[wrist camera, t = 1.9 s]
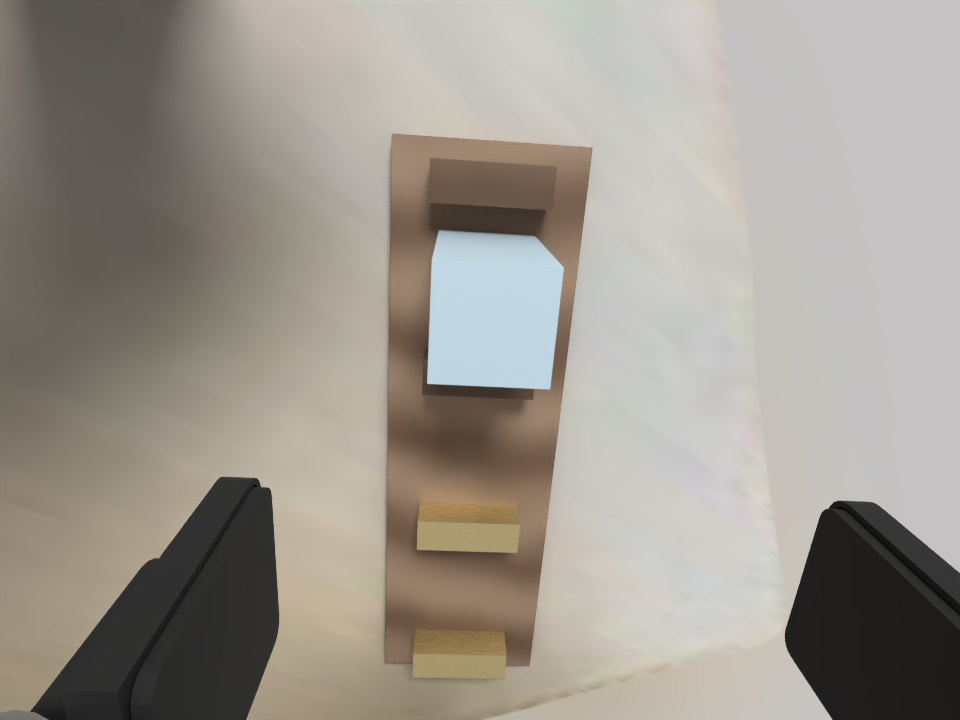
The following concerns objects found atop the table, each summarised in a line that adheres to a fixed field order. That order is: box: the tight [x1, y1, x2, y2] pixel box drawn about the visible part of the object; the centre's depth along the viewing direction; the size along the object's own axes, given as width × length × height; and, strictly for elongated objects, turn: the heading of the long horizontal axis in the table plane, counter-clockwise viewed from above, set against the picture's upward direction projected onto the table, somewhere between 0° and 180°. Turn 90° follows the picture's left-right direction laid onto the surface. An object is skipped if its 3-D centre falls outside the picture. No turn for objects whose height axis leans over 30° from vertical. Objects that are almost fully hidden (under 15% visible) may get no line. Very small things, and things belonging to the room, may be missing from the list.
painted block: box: [427, 230, 564, 389], centre depth 27 cm, size 5×5×9 cm
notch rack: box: [385, 134, 592, 679], centre depth 34 cm, size 34×10×3 cm, turn 176°
